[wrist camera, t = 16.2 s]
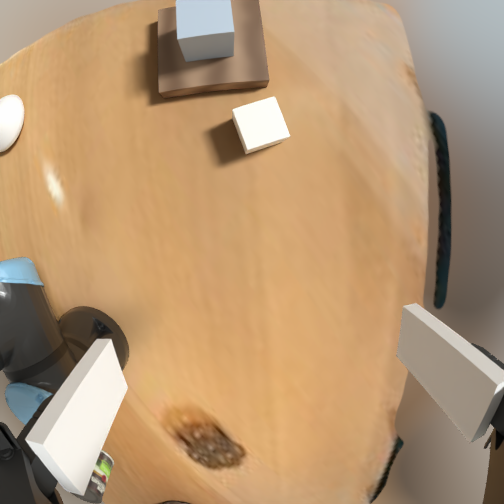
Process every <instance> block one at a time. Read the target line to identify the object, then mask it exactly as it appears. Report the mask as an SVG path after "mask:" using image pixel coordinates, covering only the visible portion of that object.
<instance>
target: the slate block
mask: <svg viewBox="0 0 504 504" xmlns="http://www.w3.org/2000/svg"><path fill="white" fill-rule="evenodd" d="M176 20H177V40H178V42H179V45H180V48H181V50H182V53H183V56H184V58H185V61H186V62H191V61H197V60H204V59H212V58H220V57H229V56H234V24H233V16H232V8H231V1H230V0H176Z"/></svg>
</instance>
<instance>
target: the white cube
mask: <svg viewBox="0 0 504 504" xmlns="http://www.w3.org/2000/svg"><path fill="white" fill-rule="evenodd" d="M232 119H233V122H234V124H235V127H236V130H237V132H238V135H239V138H240V140H241V143H242V146H243V148H244V151H245V154H248V153H251V152H254V151H257V150H260V149H263V148H266V147H269V146H272V145H275V144H278V143H282V142H284V141H285V140H286V139H287V138H289V137H290V134H289V132H288V129H287V126H286V124H285V121H284V118H283V116H282V113H281V111H280V108H279V106H278V103H277V100H276V98H275V96H274V97H271V98H267V99H264V100H260V101H257V102H254V103H251V104H247V105H244V106H241V107H238V108H235V109H232Z"/></svg>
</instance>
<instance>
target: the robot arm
mask: <svg viewBox="0 0 504 504" xmlns="http://www.w3.org/2000/svg"><path fill="white" fill-rule="evenodd" d="M396 356H397V357H398V358H399V360H400V361H401V362H402V363H403V364H404V365H405V366H406V368H407V369H408V370H409V371H410V372H411V373H412V375H413V376H414V377H415V378H416V379H417V380H418V381H419V383H420V384H421V385H422V386H423V387H424V388H425V390H426V391H427V392H428V393H429V394H430V396H431V397H432V398H433V399H434V400H435V401H436V403H437V404H438V405H439V406H440V407H441V409H442V410H443V411H444V412H445V413H446V414H447V416H448V417H449V418H450V419H451V421H452V422H453V423H454V424H455V425H456V427H457V428H458V429H459V430H460V432H461V433H462V434H463V435H464V437H465V438H466V439H467V440H468V442H469V443H471V442H473V441H475V440H477V439H478V438H480V437H482V436H483V435H484V434H485V432H486V431H487V428H488V427H489V425H490V423H491V425H492V426H493V427H494V429H493V431H492V433H491V435H490V437H489V439H488V440H487V442H486V443H485V446H484V448H485V449H486V448H487V446H488V444H489V443H490V442H491V447H490V460H489V468H488V476H487V483H486V489H485V494H484V500H483V504H504V364H503V363H502V362H501V361H499V360H497V358H495V357H494V356H493V355H491V354H490V353H489V352H488V351H487V350H485V349H484V348H483V347H480V346H477V345H475V344H473V343H472V344H470V343H469V342H467V341H466V340H465V339H464V338H462V337H461V336H460V335H458V334H457V333H456V332H454V331H453V330H452V329H450V328H449V327H448V326H446V325H445V324H444V323H442V322H441V321H440V320H438V319H437V318H436V317H434V316H433V315H432V314H430V313H429V312H428V311H426V310H425V309H423V308H422V307H421V306H419V305H418V304H417V303H415V304H410V305H406V306H403V311H402V320H401V328H400V335H399V342H398V349H397V355H396ZM128 358H129V347H128V343H127V340H126V337H125V335H124V333H123V332H122V330H121V329H120V327H119V326H118V325H117V324H116V322H115V321H114V320H113V319H111V318H110V317H109V316H108V315H106V314H105V313H103V312H101V311H99V310H97V309H94V308H91V307H76V308H73V309H71V310H70V311H68V312H67V313H66V314H65V315H64V316H63V317H62V318H61V319H60V321H59V322H57V320H56V317H55V315H54V313H53V310H52V308H51V305H50V303H49V300H48V298H47V295H46V293H45V290H44V284H43V283H42V282H41V280H40V278H39V275H38V273H37V270H36V267H35V265H34V263H33V262H32V261H31V260H30V259H29V258H26V257H19V258H13V259H9V260H4V261H0V371H1V370H3V372H4V373H5V375H6V377H7V379H8V381H9V382H10V384H8V386H7V387H6V391H5V397H6V402H7V404H8V406H9V408H10V409H11V410H12V412H13V413H14V414H15V416H16V417H17V418H18V419H19V420H20V421H21V422H23V423H24V424H25V425H26V426H25V427H24V429H23V430H22V431H21V433H20V434H19V436H18V437H17V439H16V438H15V437H14V436H13V434H12V433H11V431H10V430H9V428H8V426H7V425H6V424H4V423H2V422H0V504H63V501H62V499H61V497H60V494H59V493H58V491H57V490H56V489H55V487H56V485H57V482H58V483H59V484H60V485H61V486H62V487H63V488H64V489H65V490H66V491H68V492H71V493H75V494H79V495H83V496H84V494H85V491H86V488H87V485H88V483H89V480H90V477H91V475H92V472H93V470H94V467H95V464H96V462H97V459H98V457H99V454H100V452H101V449H102V447H103V444H104V442H105V440H106V437H107V435H108V432H109V430H110V428H111V425H112V423H113V421H114V418H115V416H116V414H117V411H118V409H119V407H120V404H121V402H122V400H123V398H124V395H125V393H126V391H127V389H128V387H127V384H126V381H125V378H124V376H123V373H122V371H123V369H124V368H125V366H126V364H127V361H128Z"/></svg>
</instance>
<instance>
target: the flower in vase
mask: <svg viewBox="0 0 504 504" xmlns="http://www.w3.org/2000/svg"><path fill="white" fill-rule="evenodd" d="M23 122H24V106H23V103H22V100H21V99H20V97H18V96H17V95H8V96H5V97H3V98H1V99H0V152H3V151H5V150H7V149H8V148H9V147H10V146H11V145H12V144H13V143H14V142H15V141H16V139H17V137H18V136H19V134H20V131H21V129H22V126H23Z"/></svg>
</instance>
